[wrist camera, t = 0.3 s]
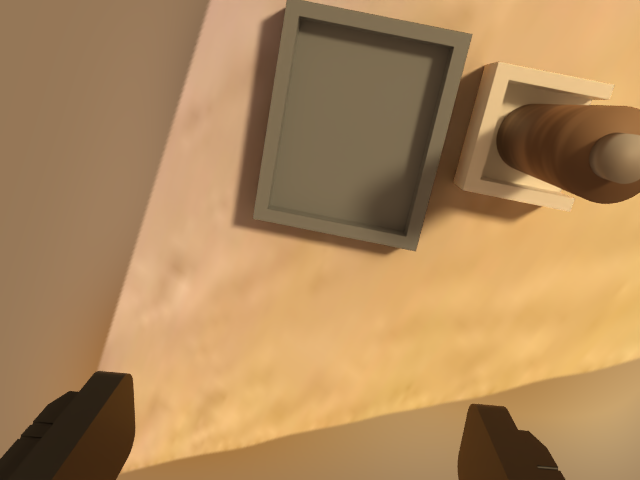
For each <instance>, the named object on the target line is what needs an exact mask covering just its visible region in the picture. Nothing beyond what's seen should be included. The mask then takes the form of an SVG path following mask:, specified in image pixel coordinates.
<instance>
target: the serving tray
mask: <svg viewBox="0 0 640 480" xmlns="http://www.w3.org/2000/svg"><path fill="white" fill-rule="evenodd" d="M471 38H472V34H469V33H464V32H459V31H454V30H449V29H444V28H439V27H434V26H429V25H424V24H419V23H414V22H409V21H404V20H399V19H393V18H388V17H383V16H378V15H373V14H368V13H363V12H358V11H353V10H348V9H343V8H338V7H333V6H328V5H323V4H318V3H313V2H308V1H303V0H287V2H286V8H285V15H284V21H283V28H282V34H281V40H280V47H279V53H278V60H277V66H276V73H275V79H274V85H273V92H272V98H271V105H270V111H269V118H268V124H267V130H266V137H265V143H264V150H263V156H262V163H261V169H260V176H259V182H258V188H257V195H256V201H255V208H254V214H253V219H256V220H261V221H266V222H271V223H276V224H281V225H286V226H291V227H296V228H302V229H307V230H312V231H317V232H322V233H327V234H332V235H337V236H342V237H347V238H352V239H357V240H362V241H367V242H372V243H377V244H382V245H387V246H392V247H397V248H402V249H407V250H412V251H416V249H417V245H418V241H419V237H420V234H421V230H422V226H423V222H424V218H425V214H426V211H427V207H428V203H429V199H430V195H431V191H432V187H433V184H434V180H435V176H436V172H437V168H438V164H439V161H440V157H441V153H442V149H443V145H444V141H445V138H446V134H447V130H448V126H449V122H450V118H451V115H452V111H453V107H454V103H455V99H456V95H457V92H458V88H459V84H460V80H461V76H462V72H463V69H464V65H465V61H466V57H467V53H468V49H469V45H470V42H471Z"/></svg>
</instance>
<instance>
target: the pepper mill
mask: <svg viewBox="0 0 640 480" xmlns="http://www.w3.org/2000/svg"><path fill="white" fill-rule="evenodd" d="M496 145H497V150H498V153H499V155H500V157H501V158H502V160H503V161H504V162H505V163H506V164H507V165H508V166H510V167H511V168H513V169H516V170H518V171H520V172H523V173H525V174H528V175H530V176H532V177H535V178H537V179H539V180H542V181H544V182H546V183H549V184H551V185H553V186H556V187H558V188H560V189H563V190H565V191H568V192H570V193H572V194H575V195H577V196H579V197H582V198H584V199H586V200H589V201H591V202H595V203H601V204H610V203H617V202H621V201H624V200H627V199H629V198H631V197H633V196H635V195H637V194H638V193H640V110H639V109H637V108H633V107H628V106H603V105H565V104H527V105H523V106H521V107H518V108H516V109H515V110H513V111H512V112H510V113H509V114H508V115H507V116H506V117H505V119H504V120H503V121H502V123H501V125H500V127H499V129H498V132H497V138H496Z"/></svg>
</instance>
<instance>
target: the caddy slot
mask: <svg viewBox="0 0 640 480" xmlns="http://www.w3.org/2000/svg"><path fill="white" fill-rule="evenodd" d="M614 86H615V85H614V84H609V83H604V82H599V81H594V80H589V79H584V78H579V77H574V76H569V75H564V74H559V73H554V72H549V71H544V70H539V69H534V68H529V67H524V66H519V65H514V64H508V63H503V62H495V63H491V64H487V65H485V67H484V71H483V74H482V78H481V82H480V85H479V89H478V93H477V96H476V100H475V104H474V107H473V111H472V115H471V118H470V122H469V126H468V129H467V133H466V137H465V140H464V144H463V148H462V151H461V155H460V159H459V162H458V166H457V170H456V173H455V177H454V181H453V183H454V184H456V185H457V186H458V187H459V188H461V189H462V190H463V191H468V192H473V193H478V194H483V195H488V196H493V197H498V198H503V199H508V200H513V201H518V202H524V203H529V204H534V205H539V206H544V207H549V208H554V209H559V210H564V211H569V212H571V209H572V206H573V203H574V200H575V198H572V197H570V196H568V195H566V194H563V193H561V190H562V189H560V188H558V187H556V186H553V185H551V184H549V183H546V182H544V181H542V180H539V179H537V178H535V177H532V176H530V175H528V174H525V173H523V172H520V171H518V170H516V169H513V168H511V167H510V166H508V165H507V164H506V163H505V162H504V161H503V160H502V158H501V157H500V155H499V153H498V150H497V145H496V138H497V132H498V129H499V127H500V125H501V123H502V121H503V120H504V119H505V117H506V116H507V115H508V114H509V113H510V112H512V111H513V110H515V109H516V108H518V107H521V106H523V105H527V104H565V105H590V104H591V101H592V100H610V97H611V94H612V91H613V88H614Z"/></svg>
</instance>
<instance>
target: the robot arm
mask: <svg viewBox="0 0 640 480" xmlns="http://www.w3.org/2000/svg"><path fill="white" fill-rule="evenodd" d="M134 437H135V410H134V389H133V378H132V376H131V374H127V373H115V372H103V371H97V372H95V373H94V374H93V376H92V377H91V378H90V379H89V380H88V381H87V383H86V384H85V385H84V387H83V388H82V389H81V390H80V391H79V392H74V391H69V392H67V393H66V394H64V395H62V396H61V397H59V398H58V399H56V400H55V401H53V402H52V403H50V404H48V405H47V406H46V407H45V409H44V410H43V411H42V412H41V413H40V414H39V416H38V417H37V418H36V419H35V420H34V421H33V424H32V425H30V426H29V427H28V428H27V429H26V430H25V432H24V433H23V434H22V435H21V438H20V439H17V441H16V442H15V443H14V444H13V445H12V446H11V447H10V449H9V450H8V451H7V452H6V453H5V454H4V455H3V457H2V458H1V459H0V480H116V478H117V477H118V475H119V473H120V471H121V469H122V467H123V466H124V464H125V462H126V460H127V458H128V456H129V454H130V452H131V449H132V446H133V442H134ZM458 477H459V480H565V478H564V477H563V475H562V473H561V471H558V466H557V464H556V463H555V461H554V459H553V458H552V456H551V454H550V452H549V451H548V449H547V448H546V447H545V446H544V445H543V444H542V443H541V442H540V441H539V440H538V439H537V438H536V437H534V436H533V435H532V434H531V433H530V432H529V431H523V430H518V429H517V427H516V425H515V423H514V421H513V419H512V417H511V416H510V414H509V412H508V410H507V409H506V407H504V406H494V405H482V404H471V405H470V407H469V409H468V413H467V418H466V422H465V427H464V432H463V436H462V441H461V446H460V451H459V456H458Z"/></svg>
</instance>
